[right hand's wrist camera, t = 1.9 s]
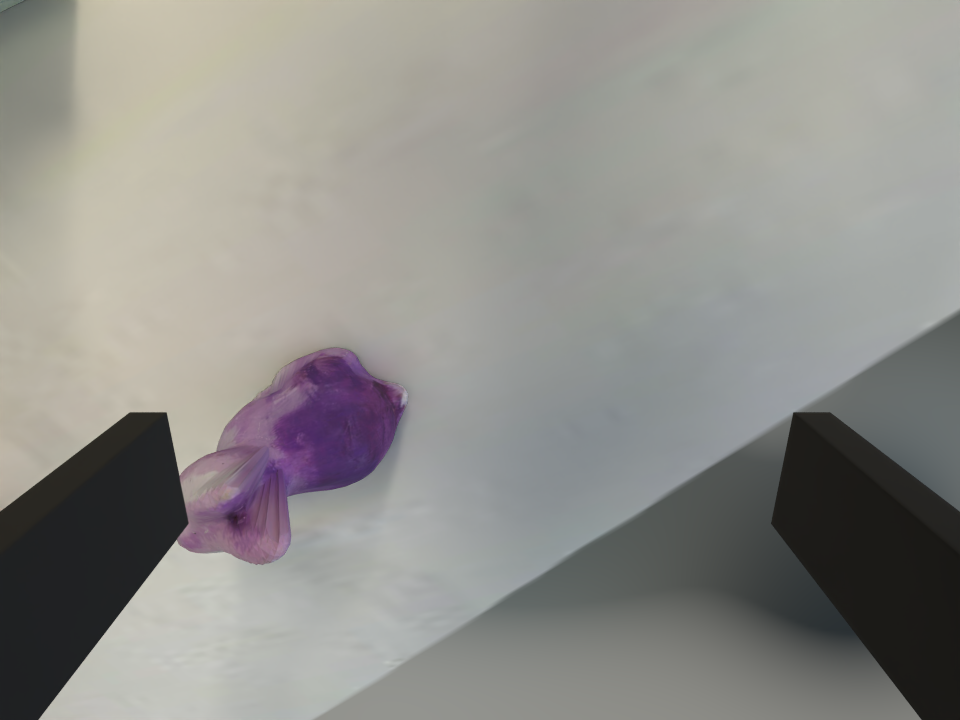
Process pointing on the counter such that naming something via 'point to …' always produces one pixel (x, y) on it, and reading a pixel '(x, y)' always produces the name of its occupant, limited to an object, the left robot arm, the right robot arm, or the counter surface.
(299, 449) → the figurine
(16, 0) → the chest
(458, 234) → the counter surface
